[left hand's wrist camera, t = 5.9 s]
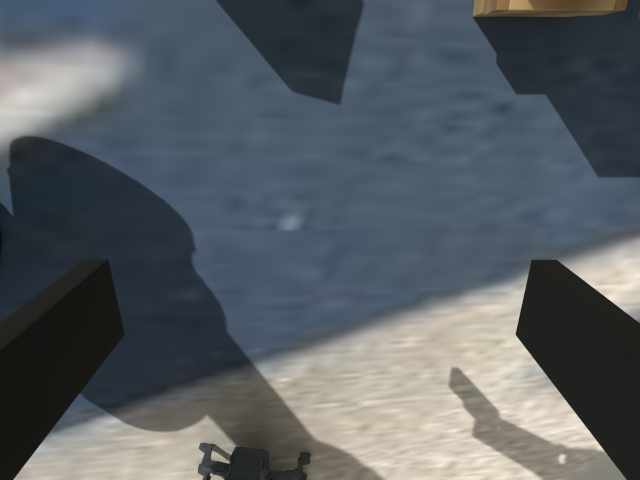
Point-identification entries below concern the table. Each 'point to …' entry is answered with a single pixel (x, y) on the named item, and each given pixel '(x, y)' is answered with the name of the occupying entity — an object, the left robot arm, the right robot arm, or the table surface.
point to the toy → (248, 465)
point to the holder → (546, 8)
